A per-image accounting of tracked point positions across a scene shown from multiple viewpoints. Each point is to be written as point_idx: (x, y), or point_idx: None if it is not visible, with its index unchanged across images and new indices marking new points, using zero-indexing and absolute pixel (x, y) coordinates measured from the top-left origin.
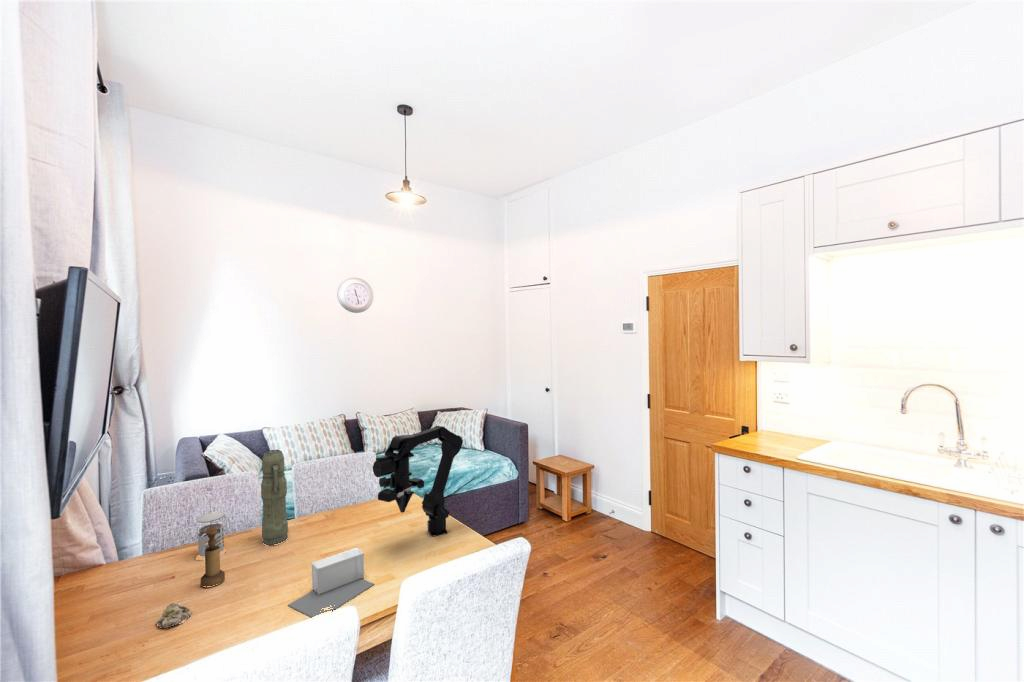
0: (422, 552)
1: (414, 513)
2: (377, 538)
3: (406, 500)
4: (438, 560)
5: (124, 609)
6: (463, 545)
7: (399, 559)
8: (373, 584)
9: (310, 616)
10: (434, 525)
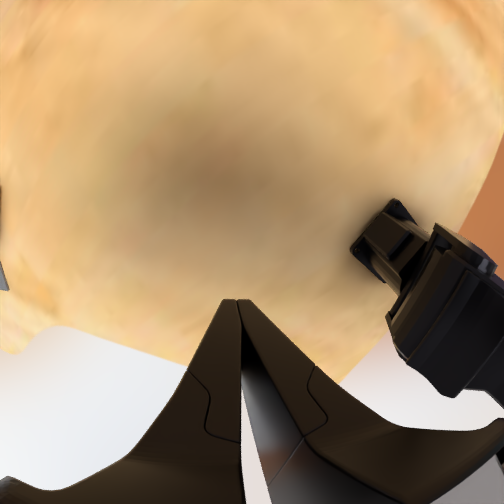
0: (216, 297)
1: (480, 70)
2: (245, 12)
3: (263, 468)
4: None
5: None
6: None
7: (126, 256)
8: (6, 290)
9: None
10: (384, 269)
